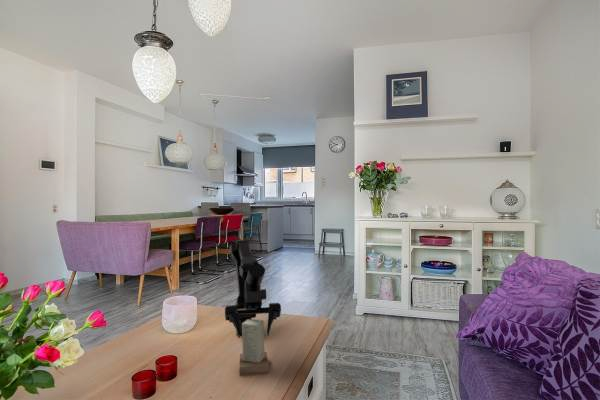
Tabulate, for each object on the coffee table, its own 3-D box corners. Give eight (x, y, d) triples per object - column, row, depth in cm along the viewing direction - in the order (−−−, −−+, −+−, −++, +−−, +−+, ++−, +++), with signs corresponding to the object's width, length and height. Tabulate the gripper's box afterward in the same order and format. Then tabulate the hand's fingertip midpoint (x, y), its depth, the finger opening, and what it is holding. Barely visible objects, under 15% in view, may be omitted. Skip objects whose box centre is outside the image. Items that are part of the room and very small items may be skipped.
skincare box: (265, 357, 106) (264, 320, 106) (259, 363, 102) (259, 325, 102) (247, 354, 108) (247, 318, 108) (241, 360, 104) (241, 323, 104)
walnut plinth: (239, 361, 109) (239, 354, 109) (266, 359, 110) (266, 351, 110) (239, 375, 100) (239, 367, 100) (268, 372, 101) (268, 364, 101)
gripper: (225, 282, 108) (223, 327, 97) (280, 279, 111) (284, 323, 100) (226, 298, 116) (224, 342, 105) (278, 295, 119) (281, 338, 108)
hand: (253, 336), depth 104 cm, fingers open, 9 cm apart
